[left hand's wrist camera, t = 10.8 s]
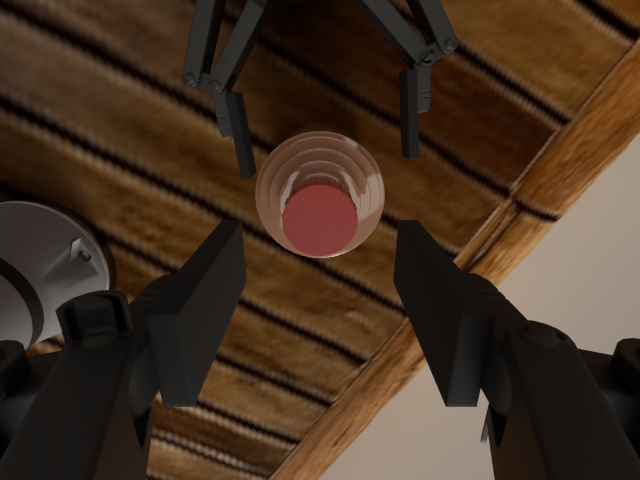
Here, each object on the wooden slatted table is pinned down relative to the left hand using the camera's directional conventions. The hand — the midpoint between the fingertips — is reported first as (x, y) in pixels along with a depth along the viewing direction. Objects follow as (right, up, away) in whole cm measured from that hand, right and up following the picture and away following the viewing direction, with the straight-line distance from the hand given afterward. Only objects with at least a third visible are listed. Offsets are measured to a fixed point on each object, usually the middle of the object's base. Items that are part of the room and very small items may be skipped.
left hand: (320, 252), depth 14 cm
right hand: (+1, +7, +15) cm, 17 cm away
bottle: (0, +8, +21) cm, 23 cm away
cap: (0, +1, +4) cm, 4 cm away
